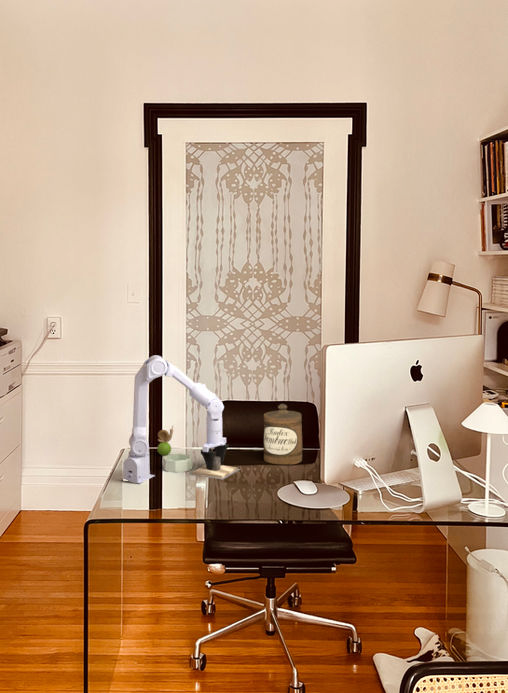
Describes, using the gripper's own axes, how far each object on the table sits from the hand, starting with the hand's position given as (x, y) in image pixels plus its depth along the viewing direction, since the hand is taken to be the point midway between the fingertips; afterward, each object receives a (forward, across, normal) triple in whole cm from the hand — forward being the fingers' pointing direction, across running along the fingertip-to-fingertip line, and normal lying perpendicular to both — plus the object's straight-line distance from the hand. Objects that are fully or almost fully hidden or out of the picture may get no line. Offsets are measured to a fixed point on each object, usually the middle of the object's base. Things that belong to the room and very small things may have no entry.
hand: (214, 466), depth 258 cm
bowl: (+2, -2, +15) cm, 15 cm away
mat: (+2, 0, 0) cm, 2 cm away
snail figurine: (+3, +13, +29) cm, 32 cm away
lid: (+2, 0, 0) cm, 2 cm away
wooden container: (+3, +26, -16) cm, 31 cm away
